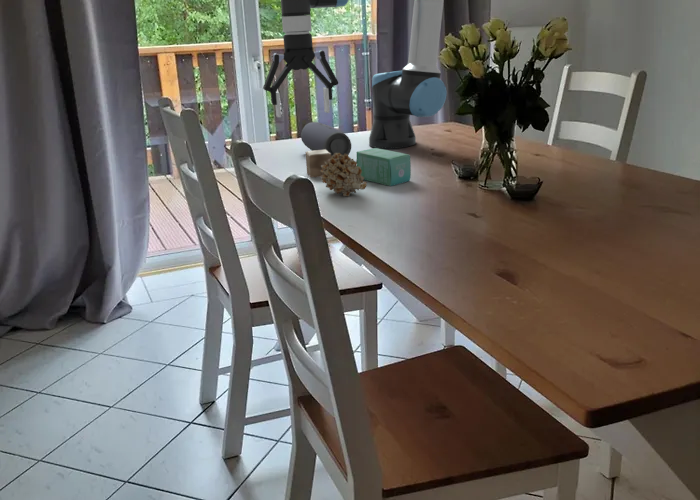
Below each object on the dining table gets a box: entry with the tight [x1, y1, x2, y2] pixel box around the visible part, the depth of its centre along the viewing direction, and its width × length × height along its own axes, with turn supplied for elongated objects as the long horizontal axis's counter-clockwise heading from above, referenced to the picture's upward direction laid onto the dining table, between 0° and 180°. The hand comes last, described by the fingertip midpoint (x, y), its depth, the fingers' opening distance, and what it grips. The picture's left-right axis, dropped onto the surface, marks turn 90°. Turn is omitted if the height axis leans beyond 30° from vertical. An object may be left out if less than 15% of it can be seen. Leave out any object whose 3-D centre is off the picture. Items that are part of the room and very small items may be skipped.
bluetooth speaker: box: [300, 121, 352, 156], centre depth 212 cm, size 23×9×10 cm, turn 22°
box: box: [356, 147, 412, 187], centre depth 183 cm, size 7×14×8 cm, turn 40°
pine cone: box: [319, 153, 368, 197], centre depth 169 cm, size 22×10×10 cm, turn 28°
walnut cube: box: [305, 149, 331, 178], centre depth 193 cm, size 6×6×6 cm
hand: (303, 114), depth 191 cm, fingers open, 13 cm apart
